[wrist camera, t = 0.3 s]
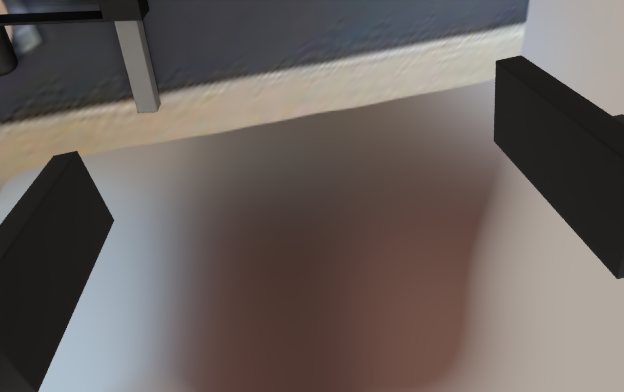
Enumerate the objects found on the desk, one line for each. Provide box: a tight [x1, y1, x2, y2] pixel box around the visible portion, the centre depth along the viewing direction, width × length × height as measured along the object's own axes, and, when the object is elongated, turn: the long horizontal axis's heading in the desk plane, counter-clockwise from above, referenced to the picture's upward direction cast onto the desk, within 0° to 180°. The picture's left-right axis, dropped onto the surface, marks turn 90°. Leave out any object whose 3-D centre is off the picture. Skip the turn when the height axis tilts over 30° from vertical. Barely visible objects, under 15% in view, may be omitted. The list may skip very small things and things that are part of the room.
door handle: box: [0, 0, 161, 113], centre depth 36 cm, size 3×20×16 cm
